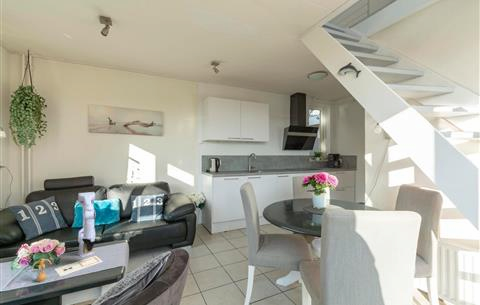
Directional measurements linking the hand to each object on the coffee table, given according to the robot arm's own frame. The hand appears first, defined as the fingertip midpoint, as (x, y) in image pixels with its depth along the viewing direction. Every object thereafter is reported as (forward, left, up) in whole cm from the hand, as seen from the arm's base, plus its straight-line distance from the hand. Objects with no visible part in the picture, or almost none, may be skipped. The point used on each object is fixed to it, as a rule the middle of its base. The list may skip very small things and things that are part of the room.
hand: (88, 249), depth 138 cm
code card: (0, -5, -8) cm, 10 cm away
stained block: (0, 0, -1) cm, 1 cm away
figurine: (+2, -23, -9) cm, 25 cm away
